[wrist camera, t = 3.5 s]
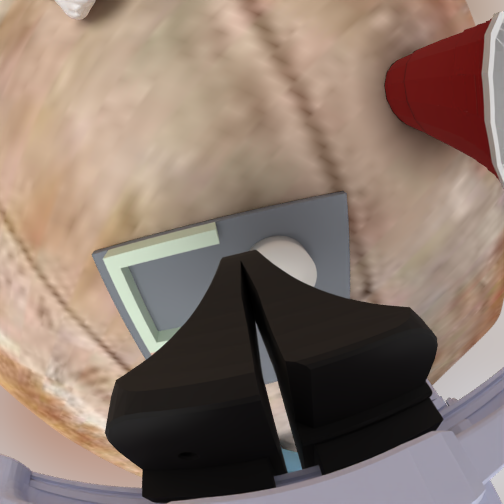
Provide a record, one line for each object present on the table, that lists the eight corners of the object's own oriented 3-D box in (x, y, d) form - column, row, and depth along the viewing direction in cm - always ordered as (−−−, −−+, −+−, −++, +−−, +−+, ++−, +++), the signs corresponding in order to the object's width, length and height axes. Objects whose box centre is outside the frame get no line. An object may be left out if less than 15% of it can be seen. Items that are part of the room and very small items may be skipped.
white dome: (308, 288, 23) (316, 303, 21) (246, 300, 22) (250, 315, 21) (307, 230, 20) (316, 241, 19) (238, 241, 20) (241, 253, 18)
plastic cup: (379, 176, 20) (501, 239, 9) (334, 41, 15) (459, -6, 5) (463, 142, 20) (568, 178, 9) (434, 30, 15) (544, 21, 4)
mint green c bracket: (242, 323, 23) (244, 334, 22) (151, 341, 23) (150, 353, 22) (215, 221, 19) (215, 229, 18) (108, 249, 19) (102, 258, 18)
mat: (345, 356, 28) (347, 360, 28) (173, 396, 27) (173, 401, 27) (342, 190, 20) (346, 193, 20) (94, 251, 19) (91, 254, 19)
